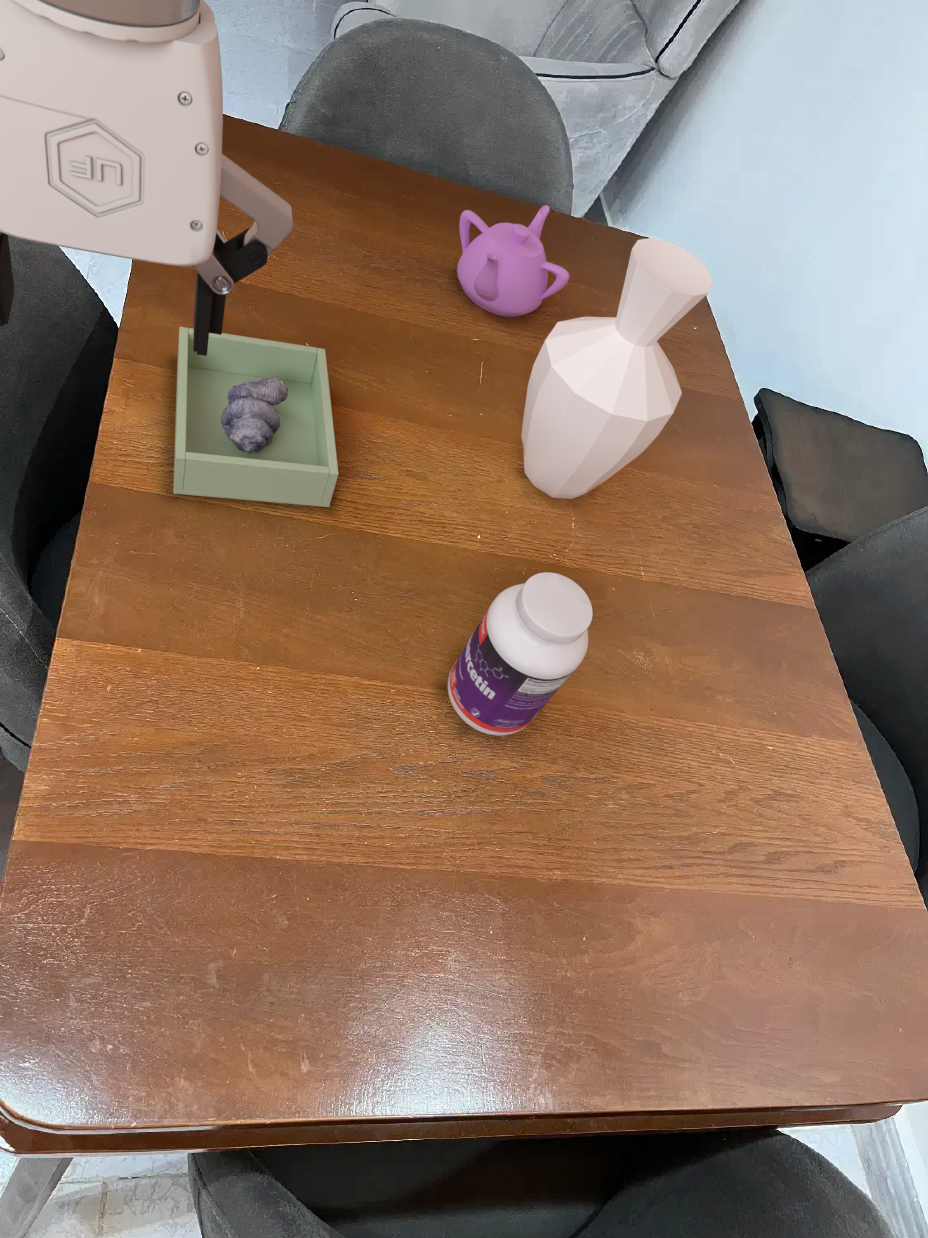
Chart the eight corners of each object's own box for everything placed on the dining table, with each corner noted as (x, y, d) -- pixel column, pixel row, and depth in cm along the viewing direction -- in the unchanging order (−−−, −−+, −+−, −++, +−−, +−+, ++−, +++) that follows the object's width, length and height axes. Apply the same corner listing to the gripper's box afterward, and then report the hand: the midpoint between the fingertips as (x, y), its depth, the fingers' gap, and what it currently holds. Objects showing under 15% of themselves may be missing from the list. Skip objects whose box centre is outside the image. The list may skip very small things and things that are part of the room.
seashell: (250, 402, 82) (240, 478, 77) (219, 362, 78) (206, 440, 73) (298, 386, 81) (292, 463, 76) (269, 344, 77) (260, 422, 71)
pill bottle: (434, 658, 72) (491, 556, 60) (519, 654, 75) (588, 556, 63) (456, 745, 68) (522, 652, 56) (544, 737, 71) (623, 648, 59)
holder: (173, 493, 72) (175, 457, 69) (177, 363, 81) (179, 325, 78) (329, 507, 77) (338, 474, 74) (317, 383, 86) (325, 348, 82)
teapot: (464, 321, 100) (489, 255, 93) (440, 249, 107) (461, 183, 100) (552, 332, 105) (582, 271, 98) (524, 263, 112) (550, 201, 105)
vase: (613, 537, 87) (752, 345, 68) (485, 492, 85) (591, 279, 65) (618, 447, 96) (742, 254, 76) (502, 404, 94) (600, 193, 74)
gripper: (-214, -93, 26) (-99, 346, 40) (334, 58, 32) (273, 395, 46) (-159, -174, 30) (-71, 249, 43) (320, -26, 36) (268, 306, 49)
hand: (105, 324), depth 44 cm, fingers open, 9 cm apart
